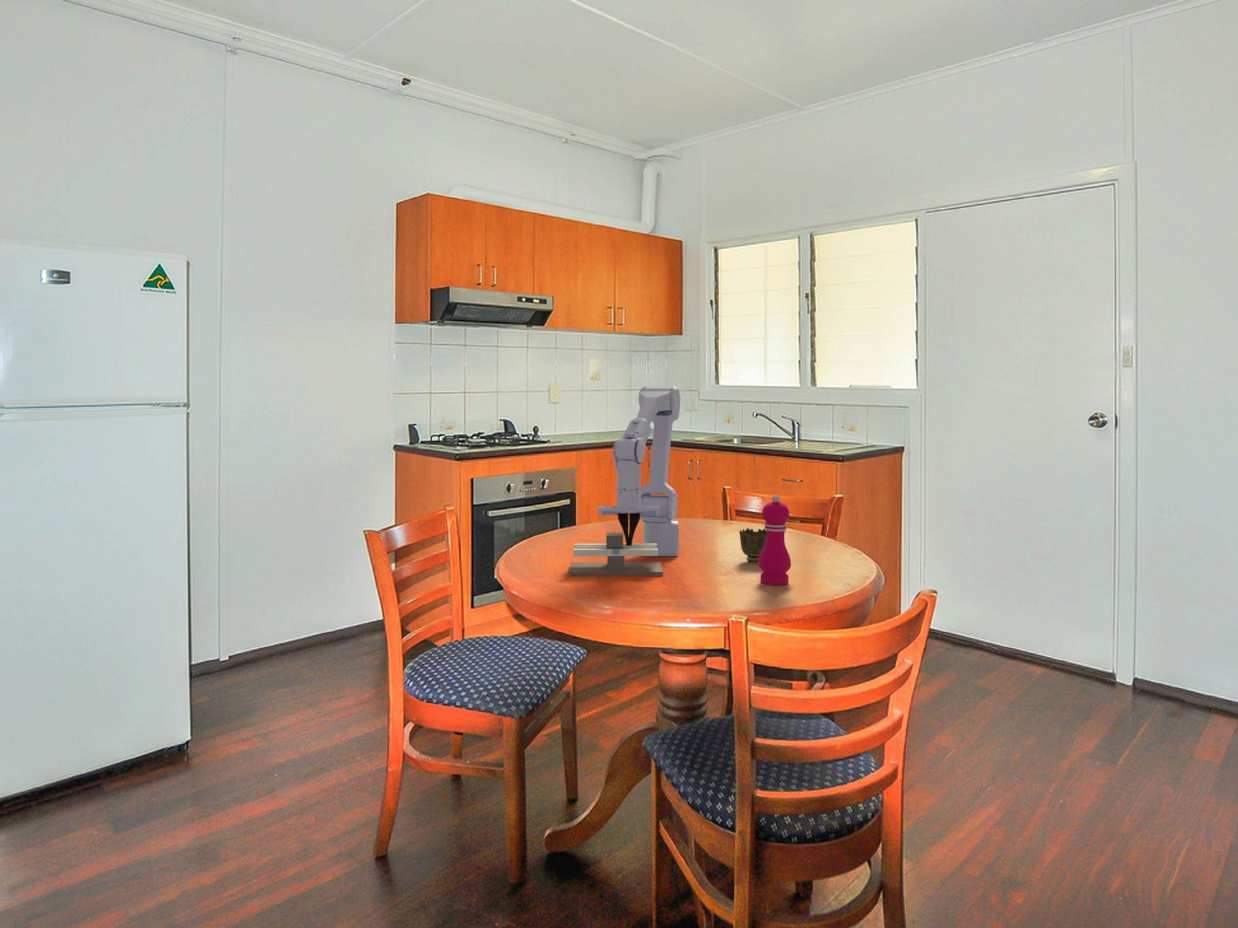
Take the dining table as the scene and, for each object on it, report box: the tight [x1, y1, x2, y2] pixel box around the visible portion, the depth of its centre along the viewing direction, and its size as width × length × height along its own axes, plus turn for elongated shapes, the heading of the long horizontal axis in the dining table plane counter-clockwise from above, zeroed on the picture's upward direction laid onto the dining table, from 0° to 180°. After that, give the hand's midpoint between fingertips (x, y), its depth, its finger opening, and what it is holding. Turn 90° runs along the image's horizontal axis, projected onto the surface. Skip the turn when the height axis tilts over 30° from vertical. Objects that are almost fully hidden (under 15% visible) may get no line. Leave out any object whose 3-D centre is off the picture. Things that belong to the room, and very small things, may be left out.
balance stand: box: [568, 542, 664, 577], centre depth 188 cm, size 22×10×6 cm, turn 91°
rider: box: [605, 531, 624, 549], centre depth 188 cm, size 4×4×4 cm
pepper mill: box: [758, 494, 792, 586], centre depth 177 cm, size 7×7×20 cm
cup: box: [739, 527, 766, 564], centre depth 197 cm, size 8×7×8 cm
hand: (628, 544), depth 188 cm, fingers closed
